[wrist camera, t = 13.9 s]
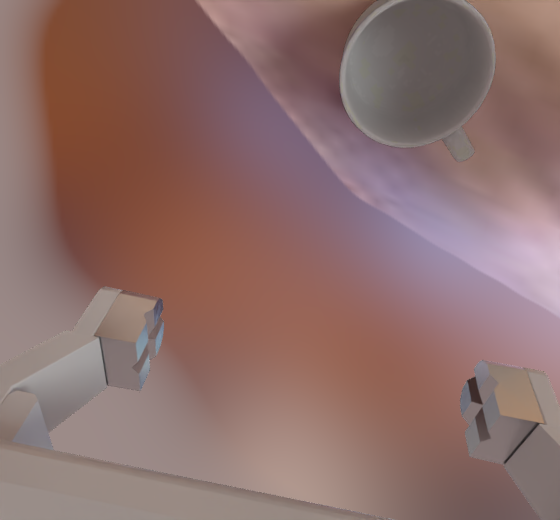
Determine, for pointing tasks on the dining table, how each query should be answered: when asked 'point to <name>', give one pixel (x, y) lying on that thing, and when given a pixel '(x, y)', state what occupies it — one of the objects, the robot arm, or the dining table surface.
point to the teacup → (417, 72)
